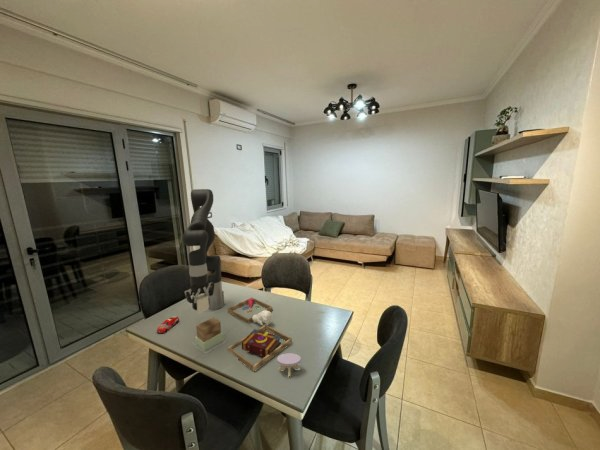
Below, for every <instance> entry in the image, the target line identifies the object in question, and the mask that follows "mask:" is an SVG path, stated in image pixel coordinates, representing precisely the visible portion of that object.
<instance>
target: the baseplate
mask: <svg viewBox="0 0 600 450" xmlns="http://www.w3.org/2000/svg"><path fill="white" fill-rule="evenodd" d="M227 342H228V340H227V339H226V338H224V337H223V341H222V342H220V343H218V344H216V345H215V346H213V347H211V348H209V349H208V350H206V351H203V350H202V349H201V348H200V347H199V346H197V345H196V341H193V342H192V343H191V344H192V345H193V346H194V347H195V348H196V349H198V351H200V352H201V353H202V354H203V355H206V354H208V353H211V352H212V351H213V350H215V349H217V348H218V347H220V346H222V345H224V344H226V343H227Z"/></svg>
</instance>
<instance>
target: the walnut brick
mask: <svg viewBox="0 0 600 450" xmlns="http://www.w3.org/2000/svg"><path fill="white" fill-rule="evenodd" d="M195 327H196V328H195V329H196V336H197V337H198V338H199V339H200V340H202V341H203V342H205V341H207V340H209V339H210V338H212V337H214V336H216V335H218V334H220V333H221V332H222V330H221V329H222V327H221V321H220V320H218V319H217V318H215V317H214V316H213V317H211V318H208V319H207V320H205V321H202V322H201V323H198V324H196V325H195Z"/></svg>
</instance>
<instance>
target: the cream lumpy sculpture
mask: <svg viewBox="0 0 600 450" xmlns="http://www.w3.org/2000/svg"><path fill="white" fill-rule="evenodd" d="M256 314H257V315H256ZM256 314H253V316H251V317H252V320H253V323H254V324H256V323H257V324H259V325H261V326H264V325H267V326H269V325H270V324H271V322H272V320H273V314H272V311H271V312H270V311H266V309H264V310H262V311H260V312H259V314H258V313H256ZM263 323H265V324H263Z"/></svg>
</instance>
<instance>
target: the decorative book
mask: <svg viewBox="0 0 600 450" xmlns="http://www.w3.org/2000/svg"><path fill="white" fill-rule="evenodd" d="M249 334H250V335H249ZM249 334H248V335H249V336H248V335H247V336H248V337H247V338H246V339H245V340H244V341H243V342H242V343H241V349H242V350H243V351H246V352H247V354H254V355H257V356H259V357H261V358H264V357H265V356H267V355H270V353H271V352H272V351H274V350H275V349H276V348H278V347H279V346H280V345H282V342H280V340H281V336H279V335H275V334H274V335H273V334H272V333H270V332H268V331H264V332H261V331H259V330H258V329H253V330H252V331H251V332H250V333H249Z"/></svg>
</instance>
